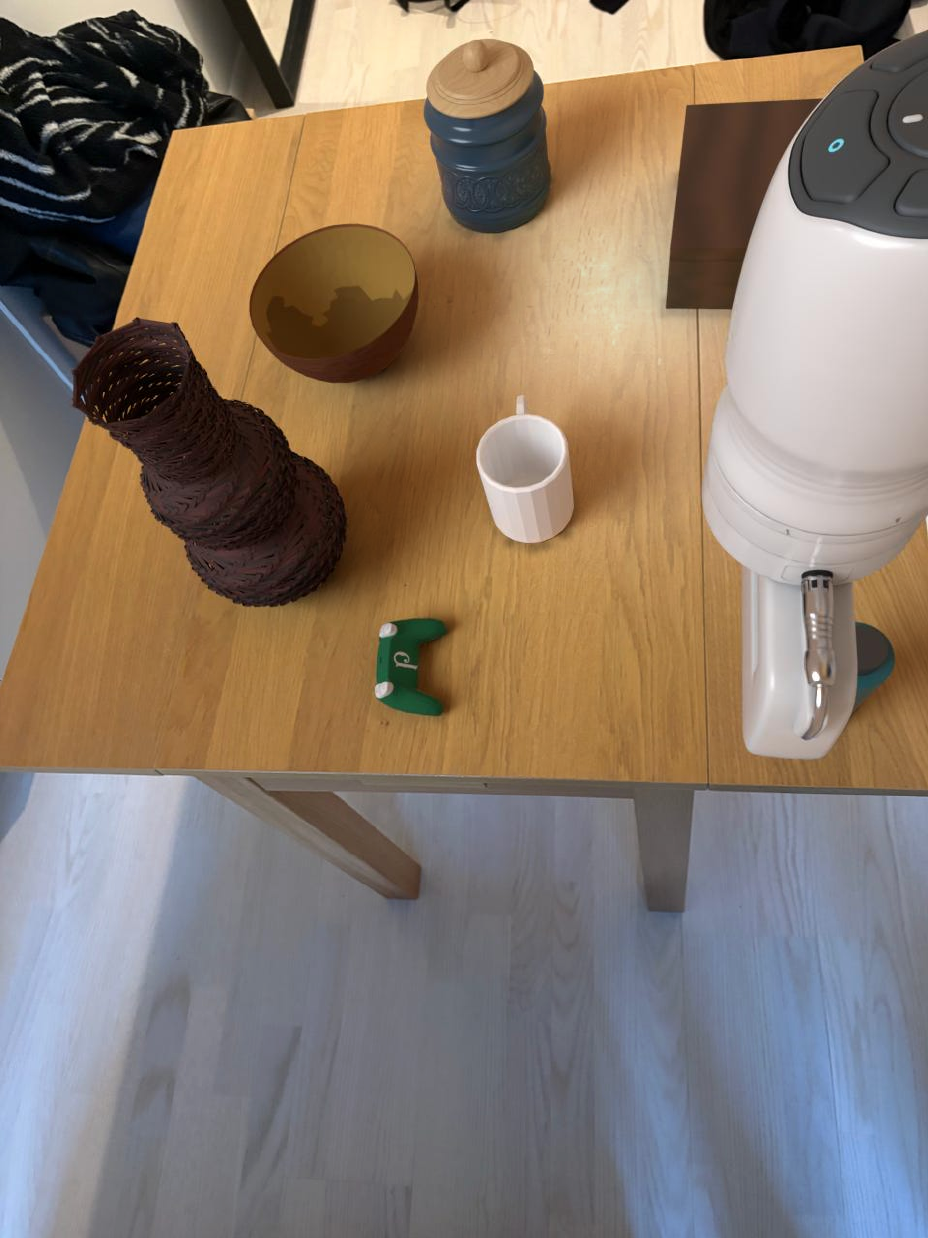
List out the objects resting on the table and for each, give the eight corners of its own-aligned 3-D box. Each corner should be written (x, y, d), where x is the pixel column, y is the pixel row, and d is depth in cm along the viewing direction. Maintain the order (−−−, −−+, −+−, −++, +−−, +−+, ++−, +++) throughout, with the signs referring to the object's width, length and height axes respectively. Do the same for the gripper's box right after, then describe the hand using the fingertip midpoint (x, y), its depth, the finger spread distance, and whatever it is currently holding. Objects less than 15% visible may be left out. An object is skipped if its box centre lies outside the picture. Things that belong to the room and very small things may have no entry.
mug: (569, 435, 81) (563, 371, 72) (576, 540, 76) (570, 486, 67) (491, 443, 82) (475, 382, 73) (493, 547, 77) (476, 495, 68)
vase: (381, 499, 82) (261, 278, 54) (349, 638, 76) (198, 471, 49) (246, 491, 85) (69, 279, 58) (206, 624, 80) (-9, 460, 53)
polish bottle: (849, 676, 67) (902, 616, 54) (849, 734, 65) (903, 685, 53) (787, 669, 68) (824, 609, 56) (784, 726, 66) (822, 677, 54)
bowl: (468, 336, 88) (451, 266, 79) (360, 447, 85) (328, 388, 76) (360, 271, 94) (332, 200, 85) (256, 372, 91) (215, 309, 82)
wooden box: (811, 167, 88) (828, 97, 81) (806, 309, 81) (824, 247, 74) (681, 171, 91) (686, 104, 84) (665, 308, 84) (670, 248, 77)
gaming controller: (429, 631, 77) (375, 616, 74) (451, 619, 74) (395, 604, 71) (425, 723, 74) (367, 712, 71) (447, 715, 71) (388, 703, 68)
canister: (465, 251, 92) (433, 106, 76) (431, 182, 98) (394, 32, 82) (569, 208, 92) (559, 53, 76) (529, 140, 97) (511, -18, 81)
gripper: (920, 726, 28) (829, 792, 41) (882, 280, 36) (815, 453, 48) (735, 713, 30) (702, 781, 42) (735, 287, 37) (707, 453, 49)
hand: (762, 604), depth 45 cm, fingers open, 8 cm apart
